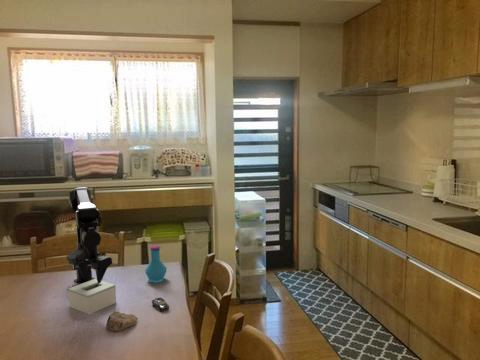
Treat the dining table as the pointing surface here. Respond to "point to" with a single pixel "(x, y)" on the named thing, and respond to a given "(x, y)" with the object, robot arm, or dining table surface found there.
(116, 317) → the rock
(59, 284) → the dining table surface
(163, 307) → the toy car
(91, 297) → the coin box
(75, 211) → the robot arm
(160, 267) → the perfume bottle
